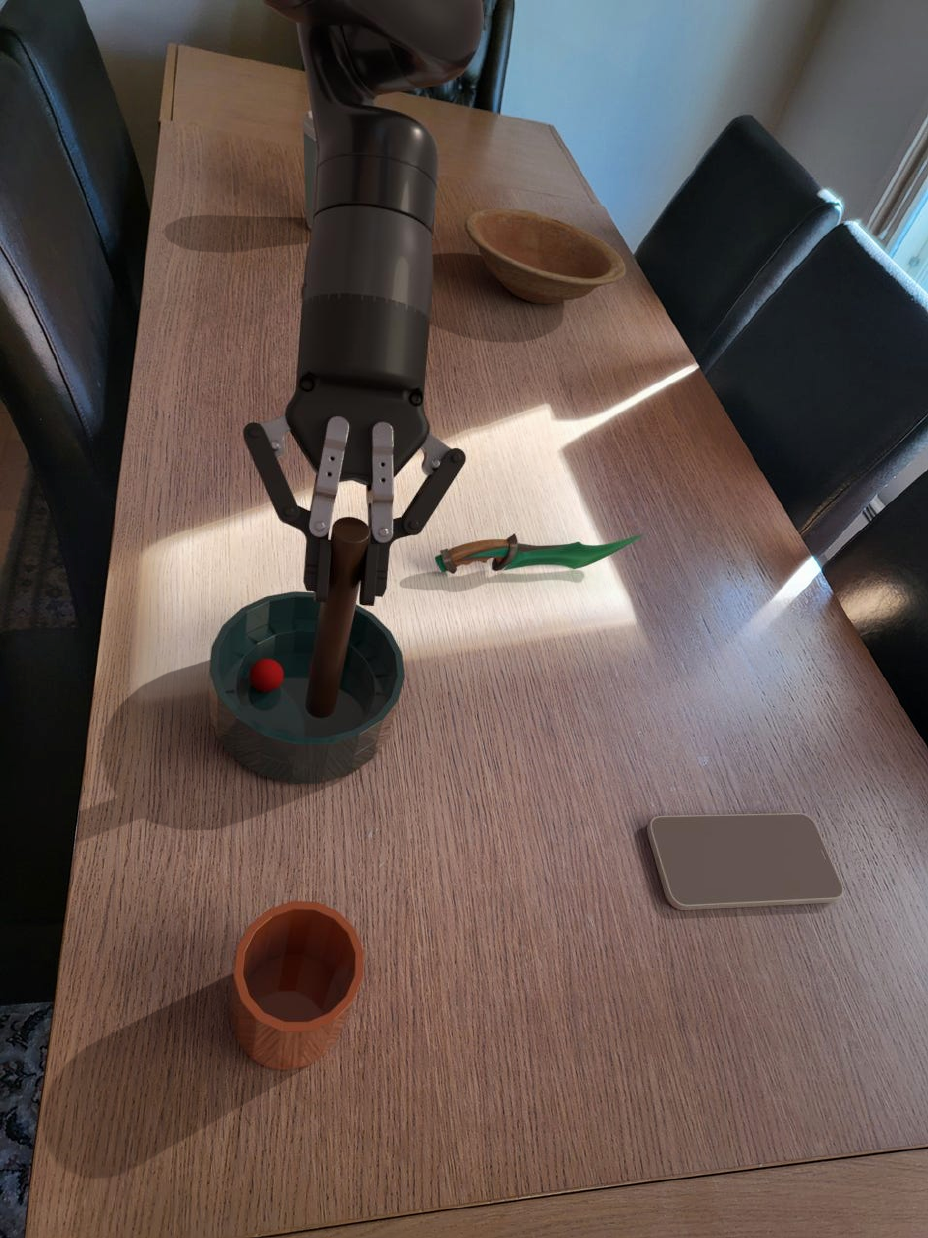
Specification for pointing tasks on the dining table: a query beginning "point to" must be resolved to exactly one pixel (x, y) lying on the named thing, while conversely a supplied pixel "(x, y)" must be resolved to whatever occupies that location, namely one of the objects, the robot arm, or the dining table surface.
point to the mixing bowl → (301, 691)
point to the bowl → (542, 255)
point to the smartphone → (742, 860)
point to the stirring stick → (336, 614)
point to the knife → (525, 554)
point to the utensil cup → (294, 983)
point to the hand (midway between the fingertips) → (343, 602)
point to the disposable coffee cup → (309, 165)
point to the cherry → (266, 675)
